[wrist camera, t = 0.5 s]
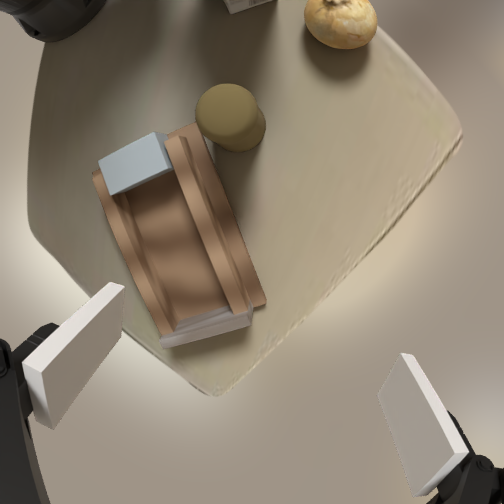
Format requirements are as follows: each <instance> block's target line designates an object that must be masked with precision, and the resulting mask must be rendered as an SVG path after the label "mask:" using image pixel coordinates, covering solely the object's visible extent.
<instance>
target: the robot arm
mask: <svg viewBox="0 0 504 504" xmlns="http://www.w3.org/2000/svg"><path fill="white" fill-rule="evenodd" d="M105 1H106V0H0V11H3V12H6V13H8V14H10V15H12V16H13V17H14V18H15V20H16V21H17V22H18V23H19V25H20V26H21V27H22V28H23V29H24V31H25V32H26V33H27V34H28V35H29V36H31V37H33V38H35V39H38V40H40V41H43V42H54V41H58V40H61V39H64V38H66V37H68V36H70V35H72V34H73V33H75V32H76V31H78V30H79V29H81V28H82V27H83V26H84V25H86V24H87V23H88V22H89V21H90V20H91V19H92V18H93V17H94V16H95V15H96V13H97V12H98V11H99V10H100V9H101V7H102V6H103V4H104V3H105ZM124 293H125V286H122V285H119V284H116V283H113V282H109V283H108V284H107V285H106V286H105V287H103V288H102V289H101V290H100V291H99V292H98V293H97V294H95V295H94V296H93V297H92V298H91V299H90V300H89V301H87V302H86V303H85V304H84V305H83V306H82V307H81V308H80V309H78V310H77V311H76V312H75V313H74V314H73V315H72V316H71V317H70V318H68V319H67V320H66V321H65V322H64V323H63V324H62V325H61V326H59V325H56V324H54V323H49V324H47V325H44V326H42V327H40V328H39V329H38V330H37V331H35V332H34V333H33V335H31V336H30V337H29V338H27V340H25V341H24V342H23V343H22V344H21V345H20V346H18V347H17V348H16V349H15V350H14V351H13V352H11V348H10V345H9V344H8V343H7V342H6V341H5V340H2V339H0V504H50V501H49V498H48V495H47V492H46V489H45V485H44V482H43V479H42V475H41V472H40V468H39V464H38V460H37V456H36V452H35V448H34V444H33V439H32V435H31V430H30V425H29V421H28V416H29V415H30V414H31V412H32V411H33V412H34V416H35V419H36V421H37V422H39V423H41V424H43V425H45V426H47V427H49V428H50V429H53V430H54V429H55V427H56V426H57V424H58V423H59V421H60V420H61V419H62V417H63V416H64V414H65V413H66V411H67V410H68V408H69V407H70V406H71V404H72V403H73V401H74V400H75V399H76V397H77V396H78V394H79V393H80V392H81V390H82V389H83V387H84V386H85V385H86V383H87V382H88V381H89V379H90V378H91V377H92V375H93V374H94V372H95V371H96V370H97V368H98V367H99V366H100V364H101V363H102V361H103V360H104V359H105V358H106V356H107V355H108V354H109V352H110V351H111V349H112V348H113V347H114V346H115V344H116V343H117V342H118V340H119V339H120V338H121V332H122V317H123V304H124ZM377 397H378V400H379V402H380V405H381V408H382V410H383V413H384V416H385V418H386V421H387V424H388V427H389V429H390V432H391V435H392V437H393V440H394V443H395V446H396V449H397V452H398V455H399V457H400V460H401V463H402V466H403V469H404V472H405V475H406V478H407V481H408V484H409V487H410V490H411V493H412V497H418V496H426V495H428V494H429V493H430V492H431V491H432V490H433V489H435V488H436V487H437V489H438V493H437V494H436V495H435V496H434V497H433V498H432V499H431V500H430V501H429V502H428V503H426V504H501V503H502V504H504V468H503V469H502V468H495V467H494V465H493V463H492V462H491V461H490V459H488V458H487V457H485V456H483V455H476V454H475V452H474V450H473V449H472V447H471V445H470V443H469V441H468V439H467V438H466V436H465V434H463V430H462V429H461V427H460V425H459V423H458V422H457V420H456V418H455V417H454V416H453V415H452V414H451V413H450V412H449V411H447V410H446V409H445V407H444V406H443V404H442V402H441V400H440V399H439V397H438V395H437V394H436V392H435V390H434V389H433V387H432V385H431V384H430V382H429V380H428V379H427V377H426V375H425V374H424V372H423V371H422V369H421V367H420V366H419V364H418V363H417V361H416V359H415V358H414V356H413V355H411V354H405V353H400V354H399V357H398V358H397V360H396V362H395V364H394V366H393V367H392V369H391V372H390V373H389V375H388V377H387V378H386V380H385V382H384V384H383V386H382V388H381V389H380V391H379V392H378V394H377Z"/></svg>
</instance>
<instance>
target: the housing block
mask: <svg viewBox="0 0 504 504" xmlns="http://www.w3.org/2000/svg"><path fill="white" fill-rule="evenodd" d="M166 140H169V139H168V137H167V134H162V133H158V132H153V133H150V134H148V135H146V136H144V137H142V138H140V139H138V140H136V141H134V142H132V143H130V144H129V145H127V146H125V147H123V148H121V149H119V150H117V151H115V152H113V153H112V154H110V155H108V156H106V157H104V158H103V159H101V160H99V161H98V163H99V166H100V169H101V171H102V174H103V177H104V180H105V182H106V185H107V188H108V190H109V193H110V196H111V195H115V194H119V193H123V192H126V191H128V190H131V189H133V188H135V187H137V186H139V185H141V184H143V183H145V182H148V181H150V180H152V179H154V178H156V177H158V176H161V175H163V174H165V173H167V172H170V171H172V170H174V167H173V165H172V162H171V159H170V157H169V154H168V151H167V149H166V146H165V143H164V141H166Z"/></svg>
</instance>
